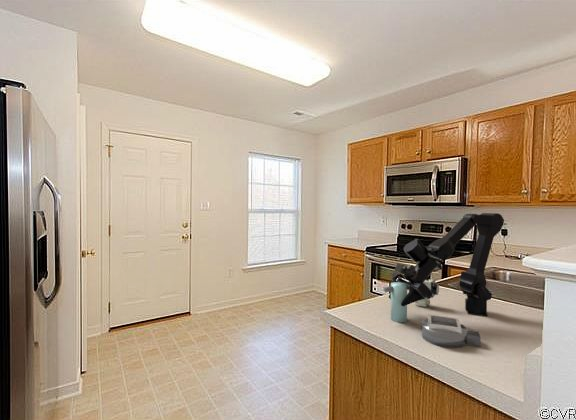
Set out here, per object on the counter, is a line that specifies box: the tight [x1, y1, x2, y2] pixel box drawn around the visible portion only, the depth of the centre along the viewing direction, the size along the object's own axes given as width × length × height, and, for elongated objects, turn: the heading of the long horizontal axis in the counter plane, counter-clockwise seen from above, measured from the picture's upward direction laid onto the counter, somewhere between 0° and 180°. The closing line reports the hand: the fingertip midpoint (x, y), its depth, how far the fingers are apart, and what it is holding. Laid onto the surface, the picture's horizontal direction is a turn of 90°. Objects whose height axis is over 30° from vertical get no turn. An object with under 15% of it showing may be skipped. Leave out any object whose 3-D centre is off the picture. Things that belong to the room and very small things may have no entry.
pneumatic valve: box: [407, 278, 440, 308], centre depth 125 cm, size 6×12×12 cm, turn 51°
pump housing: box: [383, 281, 408, 323], centre depth 110 cm, size 8×6×13 cm
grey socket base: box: [421, 314, 482, 349], centre depth 94 cm, size 16×13×6 cm
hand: (395, 301), depth 110 cm, fingers open, 8 cm apart
